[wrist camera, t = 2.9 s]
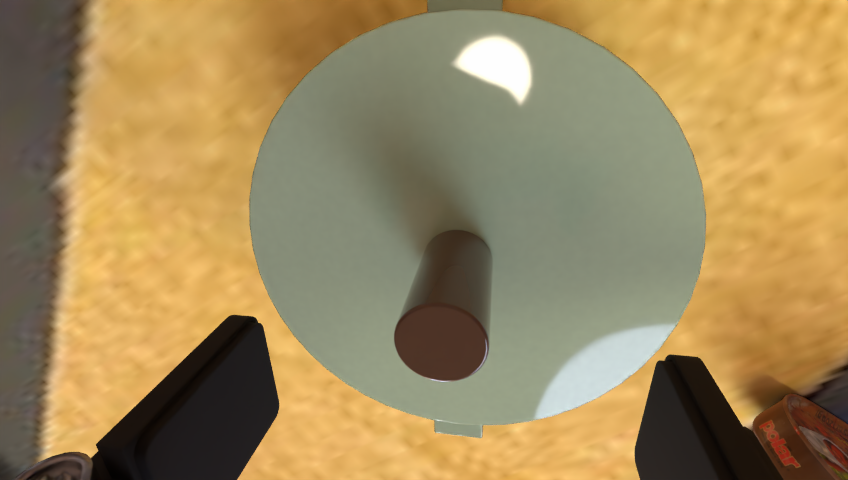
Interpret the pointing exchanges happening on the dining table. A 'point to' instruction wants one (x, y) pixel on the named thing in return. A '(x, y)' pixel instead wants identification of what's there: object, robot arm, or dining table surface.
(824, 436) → the tin
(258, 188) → the pot lid
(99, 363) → the dining table surface
